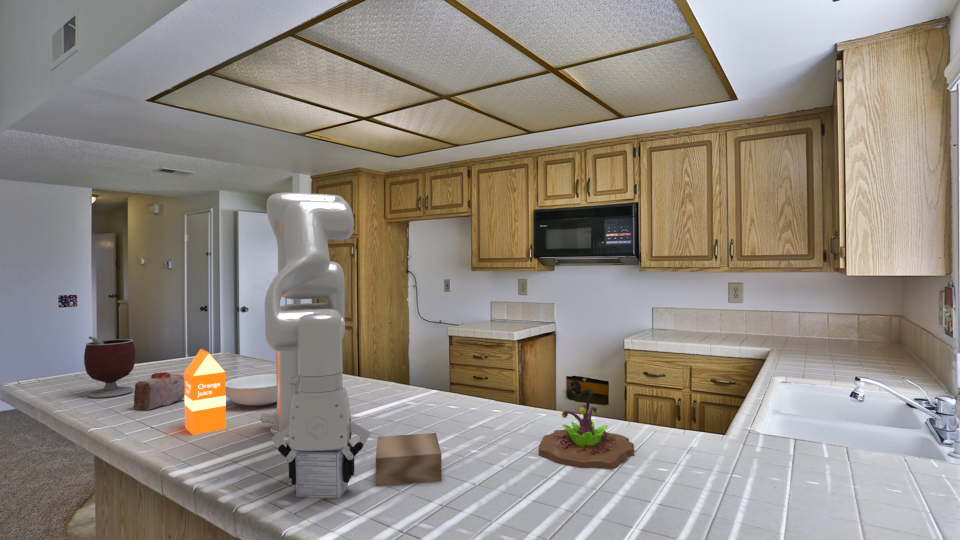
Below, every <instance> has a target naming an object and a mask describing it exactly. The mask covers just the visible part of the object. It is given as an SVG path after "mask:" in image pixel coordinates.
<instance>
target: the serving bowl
mask: <svg viewBox="0 0 960 540" xmlns="http://www.w3.org/2000/svg"><path fill="white" fill-rule="evenodd" d="M225 393H226V398H228V400H230V401H231V402H233V403H234V404H239V405H244V406H249V407H263V406H269V405H272V404H275V403H277V380H276V374H275V373H272V374H271V373H270V374H269V373H268V374H267V373H266V374H256V375H249V376H243V377H242V376H241V377H240V376H239V377H236V378H232V379H229V380H227V381H225Z"/></svg>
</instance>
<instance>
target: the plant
mask: <svg viewBox="0 0 960 540" xmlns="http://www.w3.org/2000/svg"><path fill="white" fill-rule="evenodd" d="M588 410H589V411H588ZM579 413H580V415H582V416H583V417H582V418H581V417H580V416H579V415H578V414H577V413H576V412H573V411H571V410H570V411H569V410H568V411H567V410H564V411H562V412H561V418H563V419H566V418H568V415H572V416H573V417H574V418H575V419H576V420H577V421H578V422H579V424H577V423H576V422H574V421H572V422H571V426H572V427H571V426H570V425H567V424H563V423H561V426H562V427H563V428H564V429H557V430H554V431H553V432H551V433H549V434H545V435H544V436H543V437H542V439H541V441H540V442H539V446H538V456H539V457H540V458H541V457H542V458H545V459H547V460H549V461H551V462H553V463H556V464H559V465H563V466H564V465H565V466H568V467H573V468H578V469H604V470H610V471H611V470H613V469H616V468H618V467H619V465H621V464H622V463H624V462H625V461H626V459H627V458H629V457H632V456H635V444H634V442H632V441H630V440H629V438H628V437H627V436H624V435H622V434H618V433H612V432H608V431H606V429H608V428H609V425H608V424H607V425H601V426H600V427H597V429H595V428H596V427H595V423H594V421H592V414H594V415H596V416H598V415H599V414H600V410H599V409H598V408H597V407H595V406H591V407H590V409H588V408H587V405H586V404H582V405H581V406H580V407H579Z"/></svg>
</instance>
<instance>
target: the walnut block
mask: <svg viewBox="0 0 960 540" xmlns="http://www.w3.org/2000/svg"><path fill="white" fill-rule="evenodd" d="M438 439H439V438H438V436H437V433H436V432H429V433H427V432H426V433H414V434H402V435H401V434H399V435H387V436H386V435H385V436H383V435H381V436H377V439H376V440H377V441H376V451H375V486H376V487H379V486H380V487H381V486H390V485H391V486H393V485H403V484H404V485H405V484H406V485H407V484H415V483H416V484H417V483H426V482H427V483H429V482H439V481H440V482H442V477H443V476H442V451H441V446H440V443H439V440H438Z"/></svg>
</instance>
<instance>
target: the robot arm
mask: <svg viewBox="0 0 960 540" xmlns="http://www.w3.org/2000/svg"><path fill="white" fill-rule="evenodd" d="M266 214H267V218H268V222H269V225H270V227H271V229H272V231H273V235H274V237H275V240H276V243H277V244H276V245H277V274H276V276H275V277H274V278H273V279H272V281H271V283H270V284H269V286H268V289H267V290H266V292H265V293H266V295H265V299H264V326H265V327H264V329H265V330H264V331H265V340H266V342H267V344H268V346H269V348H271V349H272V350H274V351H275V368H276V380H277V402H276V411H274V412H273V413H270V412H262V413H260V417H259V419H260V422H261V424H268V423H271V424H272V425H271V426H270V428H269V429H270V431H269V432H270V433H271V434H272V435H273V436H272V437H271V440H272V443H273V444H274V445H275V447H276V448H277V450H278V452H279V453H280V454H281V455H282V456H283V457H284V458H285V461H286V462H288V477H289V479H291V485H293V486H296V454H295V453H296V452H299V451H331V450H341V451H342V452H343V454H344V455H345V456H346V458H345V460H344V482H345V483H348V484H349V483H350V479H351V478H352V477H353V476H354V475H355V457H356V455H358V454H359V452H360V451H362V449H363V448H364V446H365V444H366V443H367V441H368V439H369V438H370V435H371V432H370V431H369V430H367V429H366V428H364V427H363V426H361V425H359V424H357V423H355V422H353V421H352V416H351V407H350V400H349V394H348V391H347V390H348V389H347V388H346V387H344V382H343V381H344V380H343V370H344V369H343V338H344V337H345V333H346V324H345V304H346V303H345V302H346V301H345V299H346V298H345V297H346V291H345V290H346V289H345V287H346V284H345V273H344V270H343V267H342V265H340V263H338V262H335V261H331V259H330V250H329V245H328V244H329V242H328V241H330V240H333V241H334V240H335V241H337V240H341V241H343V240H349V239H350V238H351V237H352V236H353V233H354V227H355V222H354V219H355V218H354V215H353V210H352V207H351V206H350V205H349V203H348V202H347V200H345V199H344V198H343V197H342V196H341V195H336V194H329V193H327V194H326V193H325V194H324V193H311V192H310V193H306V192H277V193H273V194H271V195H270V196H268V199H267V201H266ZM282 298H285V299H288V300H316V299H321V300H322V299H323V300H325V302H318V303H317V302H315V303H309V302H308V303H307V302H306V303H305V302H304V303H289V304H284V305H281V299H282ZM353 434H354V435H356V436H358V437H359V439H358V441H357V442H356V443H355V444H354V445H353V444H352V442H351V441H350V440H351V439H352V435H353ZM286 437H288V443H286V441H285V438H286Z"/></svg>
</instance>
